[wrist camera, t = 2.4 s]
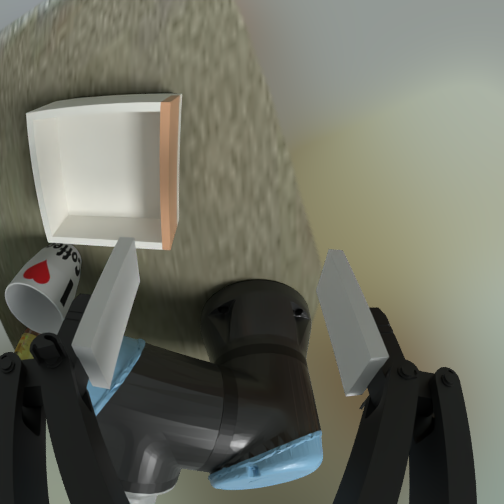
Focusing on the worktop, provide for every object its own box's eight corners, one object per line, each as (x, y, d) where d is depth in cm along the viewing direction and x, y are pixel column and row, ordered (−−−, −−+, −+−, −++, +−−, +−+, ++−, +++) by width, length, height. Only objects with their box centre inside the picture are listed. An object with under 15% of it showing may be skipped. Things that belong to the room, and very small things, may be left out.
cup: (102, 260, 36) (75, 318, 28) (74, 289, 39) (49, 343, 30) (56, 218, 32) (16, 269, 24) (32, 253, 35) (-2, 303, 27)
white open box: (186, 91, 25) (170, 102, 19) (182, 208, 32) (170, 250, 26) (67, 96, 24) (26, 113, 18) (77, 205, 31) (47, 242, 25)
